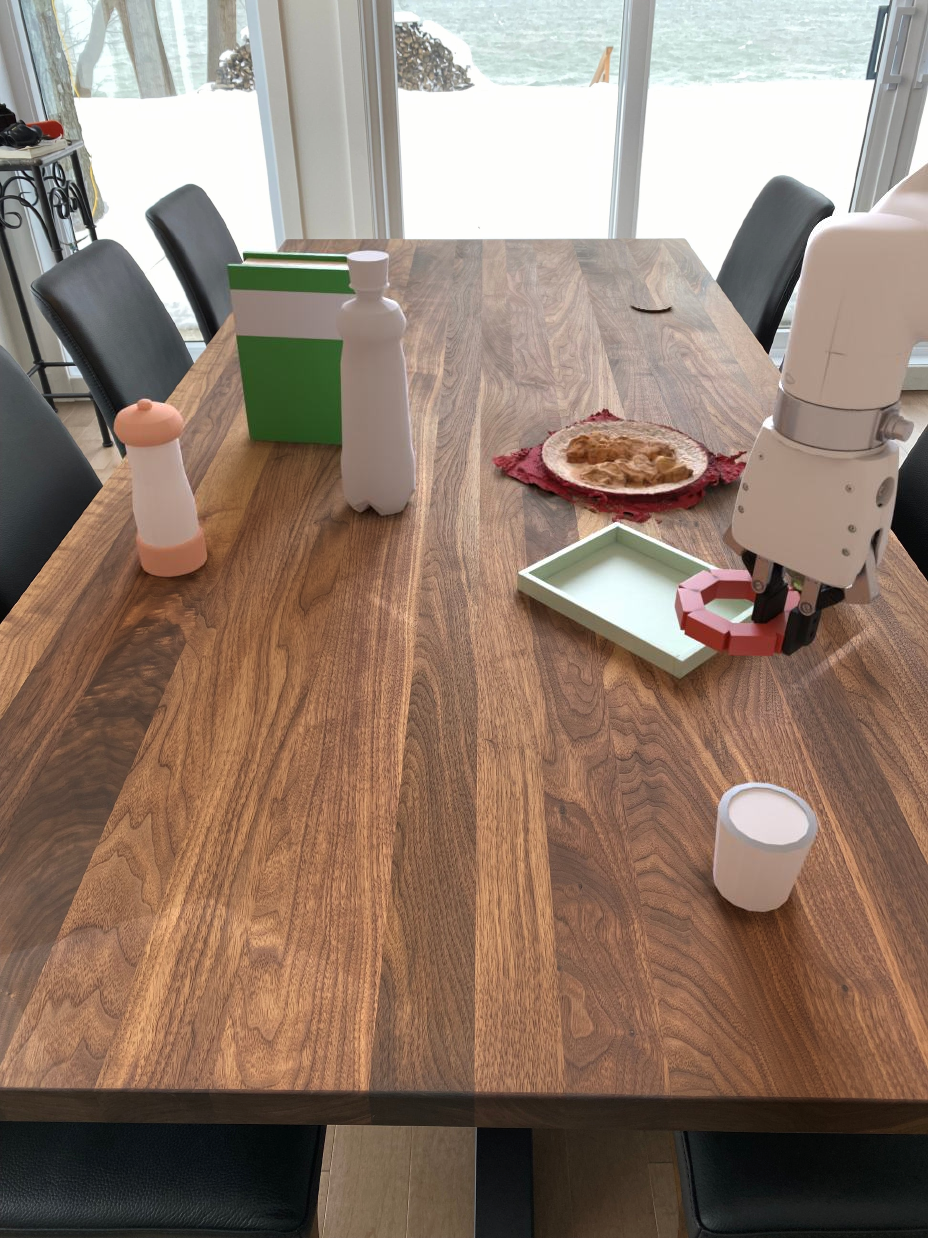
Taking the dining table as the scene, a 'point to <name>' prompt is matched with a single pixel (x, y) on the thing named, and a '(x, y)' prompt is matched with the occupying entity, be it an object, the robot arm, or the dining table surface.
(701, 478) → the plate with food
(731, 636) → the ring
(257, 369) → the hardback book
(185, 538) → the pepper shaker
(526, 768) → the dining table surface
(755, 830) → the white cylinder
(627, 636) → the tray
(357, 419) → the bottle
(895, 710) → the dining table surface
